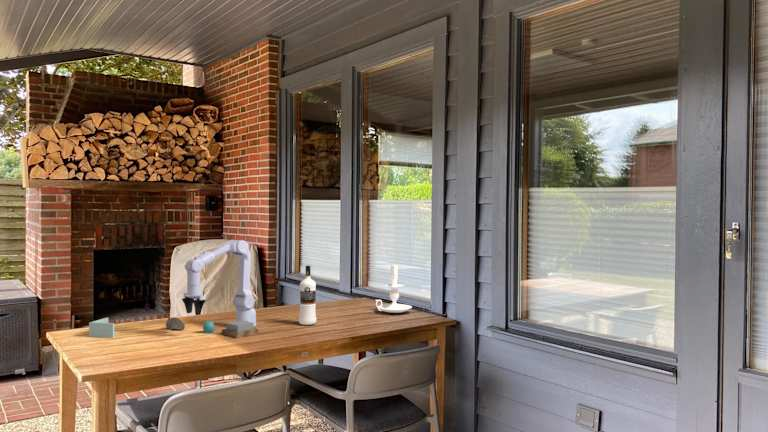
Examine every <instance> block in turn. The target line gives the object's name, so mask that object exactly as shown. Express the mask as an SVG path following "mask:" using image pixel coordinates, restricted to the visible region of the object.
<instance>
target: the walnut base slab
mask: <svg viewBox="0 0 768 432" xmlns="http://www.w3.org/2000/svg"><path fill="white" fill-rule="evenodd" d="M221 335H222V336H225V337H226V336H227V337H230V338H231V337H232V338H235V339H240V338H245V337H249V336H255V335H259V329H258V328H255V327H254V329H252V330H246V331H241V332H235V331H231V330H227V329H226V328H223V329H221Z"/></svg>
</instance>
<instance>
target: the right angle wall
mask: <svg viewBox="0 0 768 432" xmlns="http://www.w3.org/2000/svg"><path fill="white" fill-rule="evenodd" d="M117 335H118V331H116V330H115V323H114V322H109V317H104V318H101V319H97V320H93V321H91V322H89V321H88V337H92V338H93V337H94V338H105V339H107V338H108V339H114V338H115V336H117Z"/></svg>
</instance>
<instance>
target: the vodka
mask: <svg viewBox="0 0 768 432" xmlns="http://www.w3.org/2000/svg"><path fill="white" fill-rule="evenodd" d="M311 267H312V266H311V265H305V278H304V279H302V280H301V281H300V283H299V317H298V324H300V325H305V326H309V325H310V326H311V325H315V324H316V323H317V321H318V320H317V319H318V318H317V315H316V310H317V309H316V308H317V307H316V305H317V304H316V299H317V298H316V295H317V294H316V291H317V289H316V287H317V282H316V281H315V280H314V279H312V278H311V277H312V276H311Z"/></svg>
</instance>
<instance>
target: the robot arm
mask: <svg viewBox="0 0 768 432" xmlns="http://www.w3.org/2000/svg"><path fill="white" fill-rule="evenodd" d="M249 248H250V244H249V243H248V242H247V241H245V240H243V239H240V240H239V239H237V240H236V239H230V240H229V241H226V242H224V243H223V244H221V245H220V246H218V247H217V248H215V249H213V250H212V251H205V250H204V251H203V252H202V253H201V254H199V255H198V256H194V258H190V259H188V260H187V261H186V263H185V265H184V268H185V271H186V274H187V277H186V278H187V279H186V280H187V283H186V284H187V288H186V289H187V290H186V292H184V293H183V298H181V300H182V302H183V304H184V307H185V311H186V313H187V314H191V313H193V312H192V311H193V307H194V312H195V313H194V314H195V316H200V315H201V314H202V310H203V306H204V304H205V303H206V299H205V295H203V294H201V272H202V270H203V268H204V267H206V266H208V265H210V264H211V263H213V262H214V261H215V258H218V257H219V256H222V255H224V254H226V253H228V252H230V253H232V254H233V255H235V256H236V257H237V258H238V259H239V263H238V284H237V285H238V287H237V290H236V292H235V293H234V298H233V301H232V303H233V306H234V307H235V309H236V310H235V318H236V319H235V321H241V320H243V321H248V322H252V323H254V327H257V326H258V325H257V312H256V309H255V308H254V307H253V306H254V304H255V301H254V296H253V294H254V293H253V292H252V291H251V290H250V287H251V286H250V285H251V283H250V282H251V281H250V280H251V279H250V278H251V264H252V263H251V261H252V257H251V256H252V255H251V251H250V249H249Z"/></svg>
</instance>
